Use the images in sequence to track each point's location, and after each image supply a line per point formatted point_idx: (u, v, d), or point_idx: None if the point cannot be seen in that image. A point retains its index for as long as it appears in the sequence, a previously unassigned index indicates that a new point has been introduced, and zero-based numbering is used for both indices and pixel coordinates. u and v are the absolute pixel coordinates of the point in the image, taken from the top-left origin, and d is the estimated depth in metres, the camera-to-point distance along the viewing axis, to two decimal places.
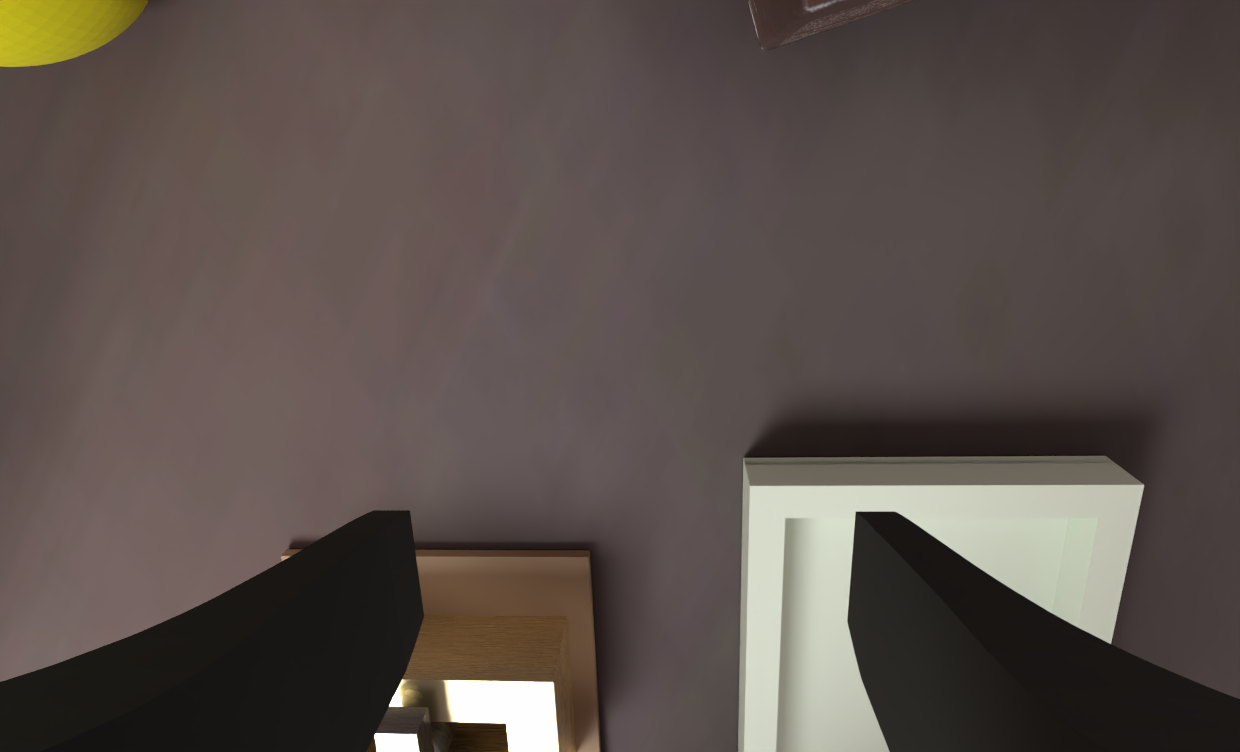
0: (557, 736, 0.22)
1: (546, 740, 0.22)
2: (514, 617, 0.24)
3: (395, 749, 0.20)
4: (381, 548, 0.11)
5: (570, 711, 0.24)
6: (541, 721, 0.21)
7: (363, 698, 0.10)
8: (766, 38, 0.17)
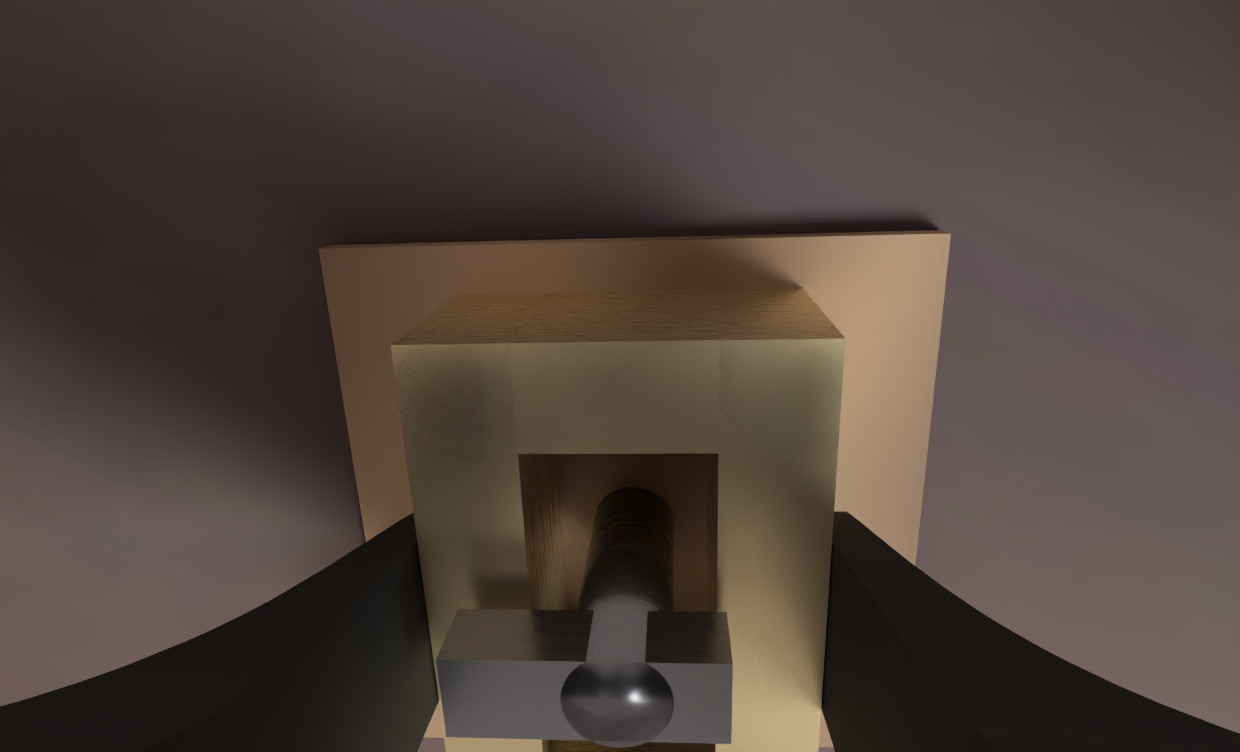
0: (548, 342, 0.09)
1: (558, 368, 0.09)
2: None
3: (484, 704, 0.09)
4: None
5: (651, 299, 0.11)
6: (504, 377, 0.09)
7: (413, 699, 0.10)
8: None
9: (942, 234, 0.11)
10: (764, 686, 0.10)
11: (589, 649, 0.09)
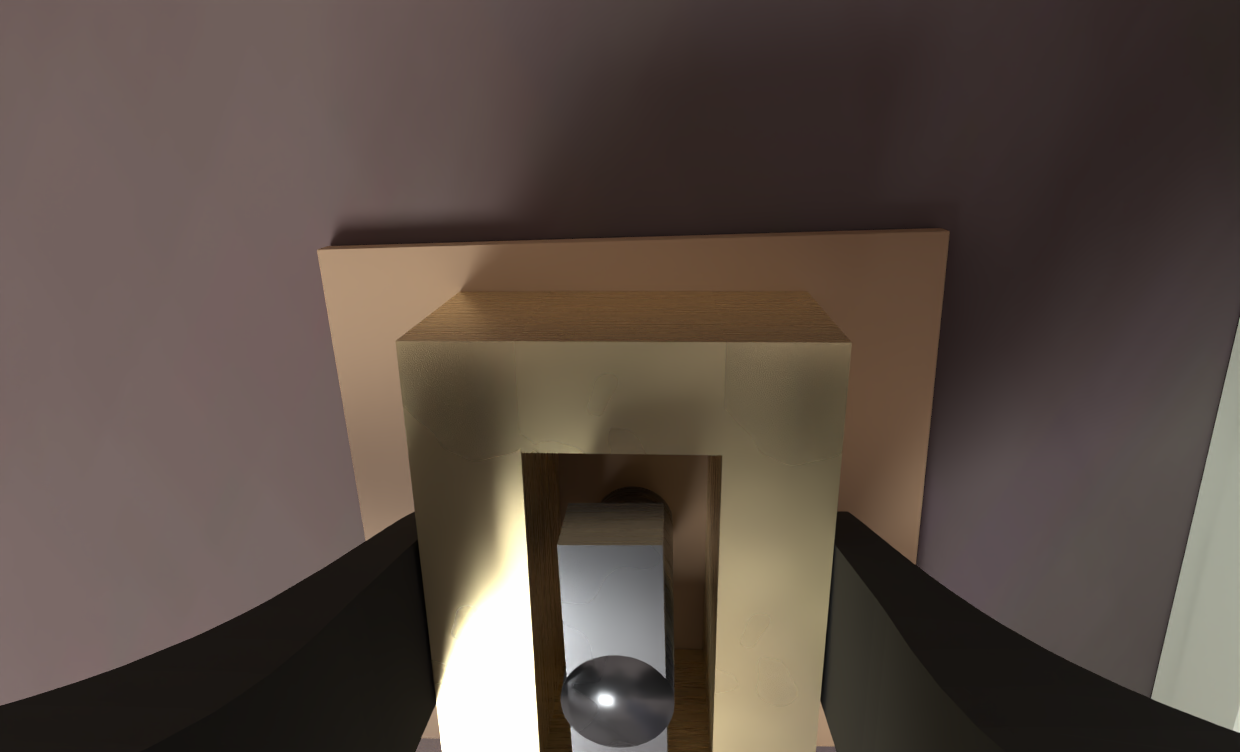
0: (553, 341, 0.09)
1: (563, 368, 0.09)
2: None
3: (606, 586, 0.09)
4: None
5: (656, 299, 0.11)
6: (510, 376, 0.09)
7: (410, 699, 0.10)
8: None
9: None
10: (763, 689, 0.10)
11: (667, 670, 0.09)
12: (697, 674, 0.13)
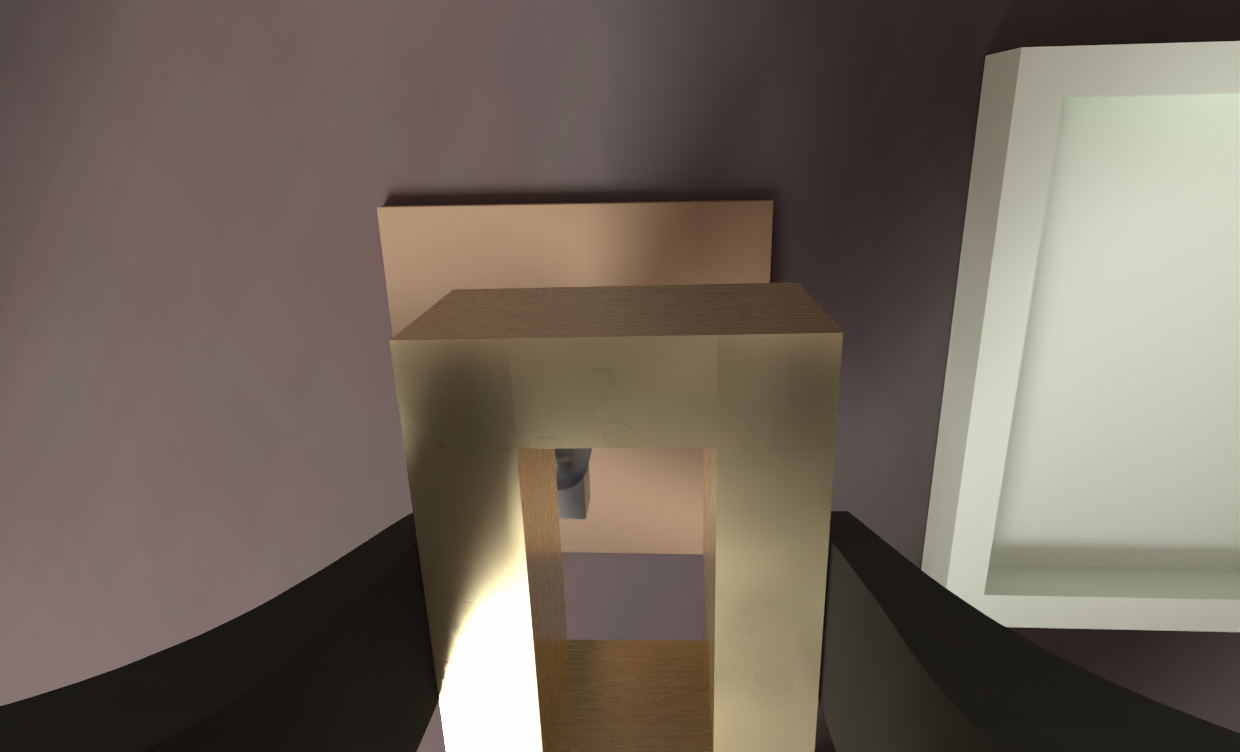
0: (546, 337, 0.09)
1: (557, 363, 0.09)
2: None
3: None
4: None
5: (648, 293, 0.11)
6: (504, 373, 0.09)
7: (412, 699, 0.10)
8: None
9: None
10: (763, 678, 0.11)
11: None
12: (698, 664, 0.13)
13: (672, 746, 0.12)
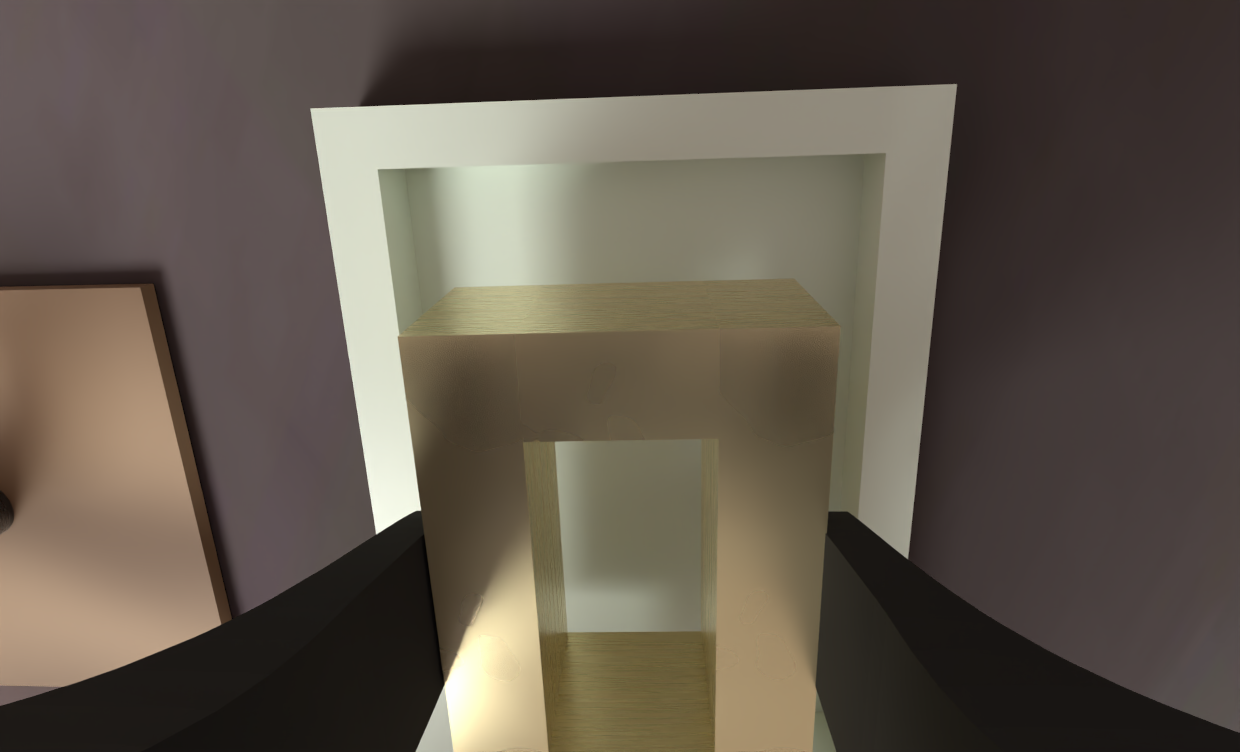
0: (552, 333, 0.09)
1: (563, 358, 0.09)
2: None
3: None
4: None
5: (648, 290, 0.11)
6: (510, 367, 0.09)
7: (412, 699, 0.10)
8: None
9: None
10: (762, 663, 0.11)
11: None
12: (696, 654, 0.14)
13: (674, 733, 0.12)
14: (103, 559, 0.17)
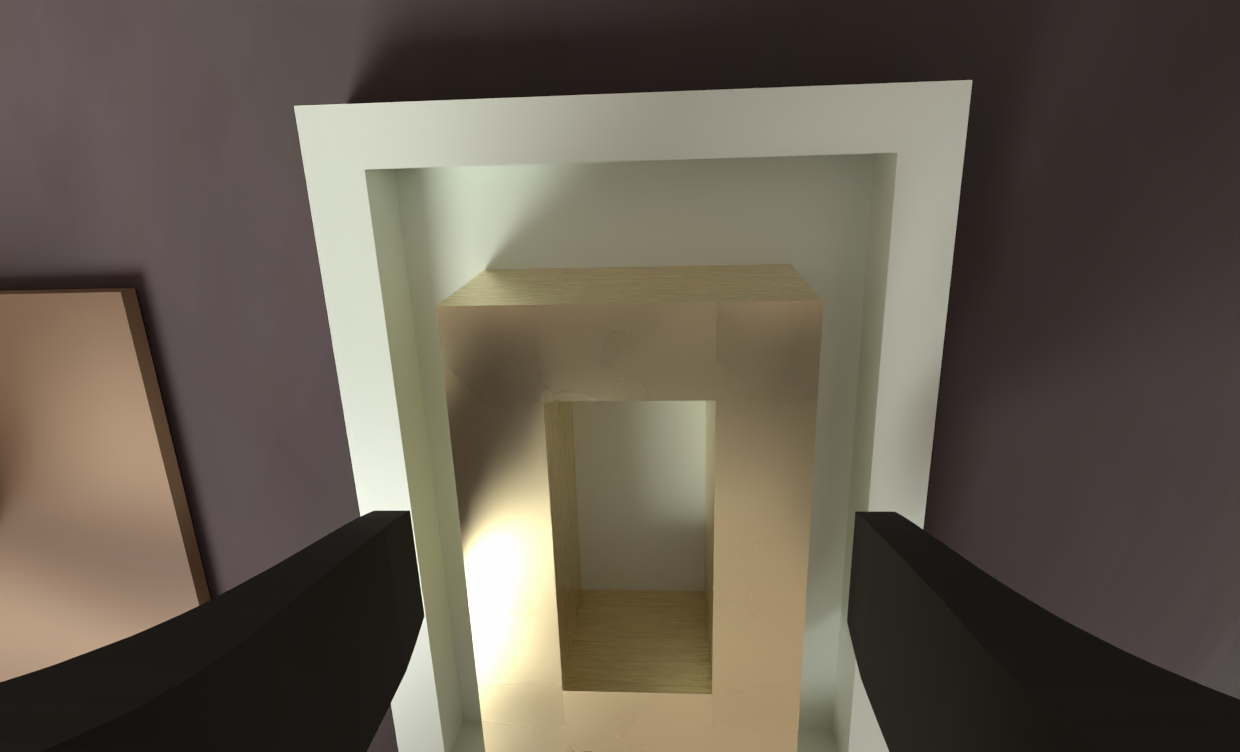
0: (570, 304, 0.11)
1: (579, 326, 0.11)
2: None
3: None
4: (382, 548, 0.11)
5: (657, 272, 0.13)
6: (533, 334, 0.11)
7: (362, 698, 0.10)
8: None
9: None
10: (755, 607, 0.12)
11: None
12: (699, 610, 0.15)
13: (676, 674, 0.13)
14: (85, 572, 0.17)
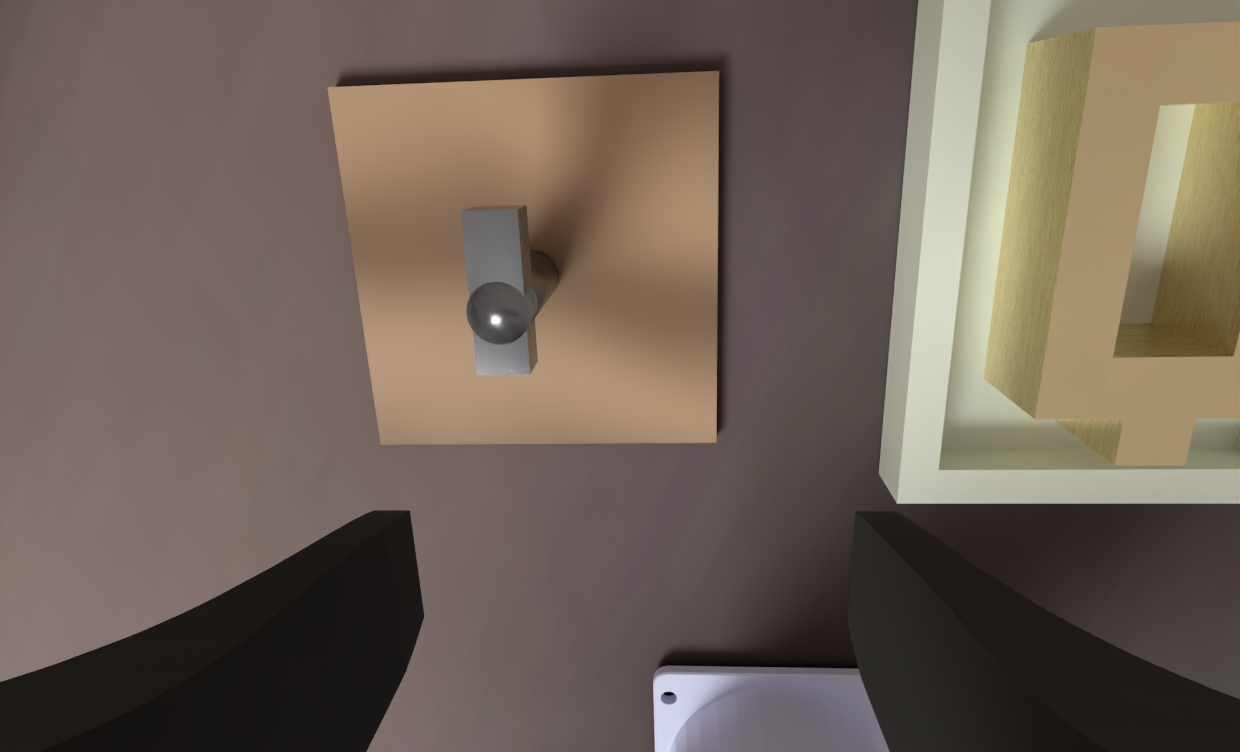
0: (1200, 23, 0.15)
1: (1204, 41, 0.15)
2: (1020, 120, 0.18)
3: (488, 236, 0.15)
4: (381, 548, 0.11)
5: None
6: (1166, 49, 0.15)
7: (362, 697, 0.10)
8: None
9: (715, 438, 0.21)
10: None
11: (526, 296, 0.16)
12: (1162, 329, 0.19)
13: (1190, 351, 0.17)
14: (627, 321, 0.20)
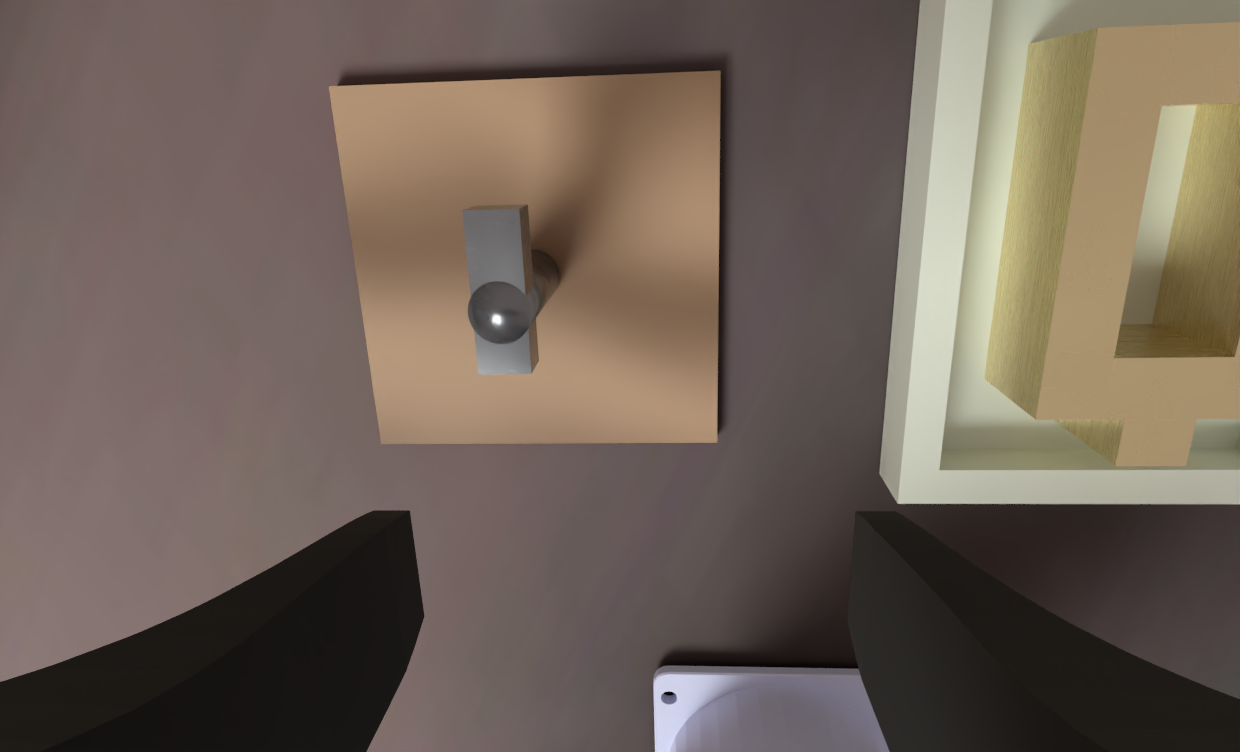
0: (1201, 24, 0.15)
1: (1205, 42, 0.15)
2: (1021, 121, 0.18)
3: (490, 236, 0.15)
4: (381, 548, 0.11)
5: None
6: (1168, 49, 0.15)
7: (362, 697, 0.10)
8: None
9: (716, 438, 0.21)
10: None
11: (528, 296, 0.16)
12: (1163, 330, 0.19)
13: (1191, 351, 0.17)
14: (628, 321, 0.20)
